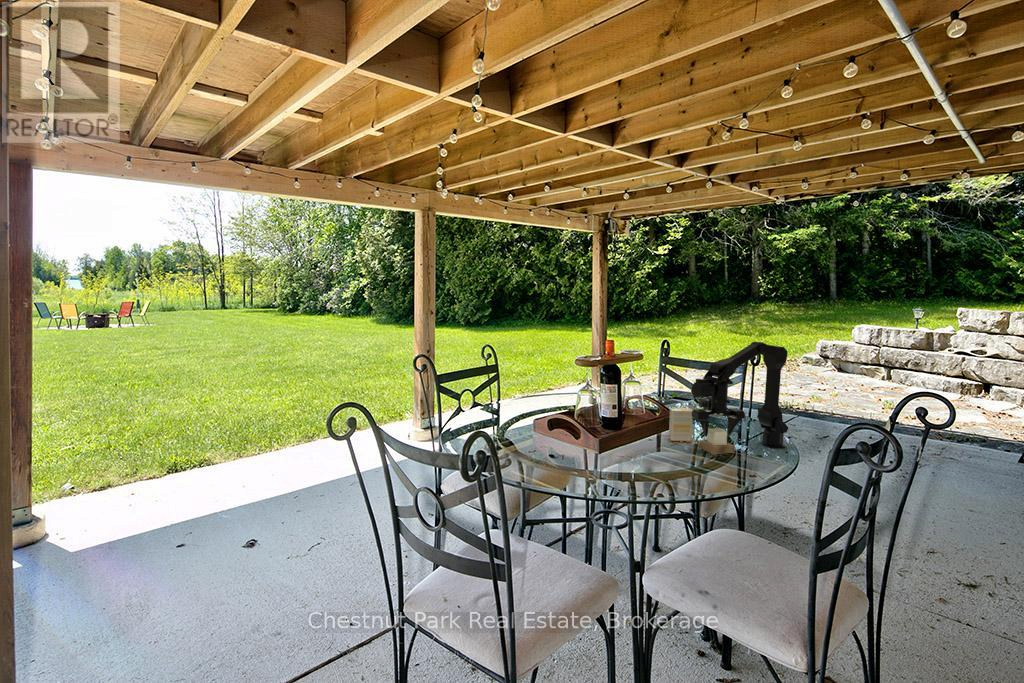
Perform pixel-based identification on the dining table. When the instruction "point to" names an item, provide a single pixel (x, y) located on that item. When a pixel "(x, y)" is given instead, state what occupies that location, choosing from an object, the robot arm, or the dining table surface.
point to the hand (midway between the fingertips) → (717, 436)
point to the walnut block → (716, 447)
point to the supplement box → (680, 424)
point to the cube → (717, 436)
